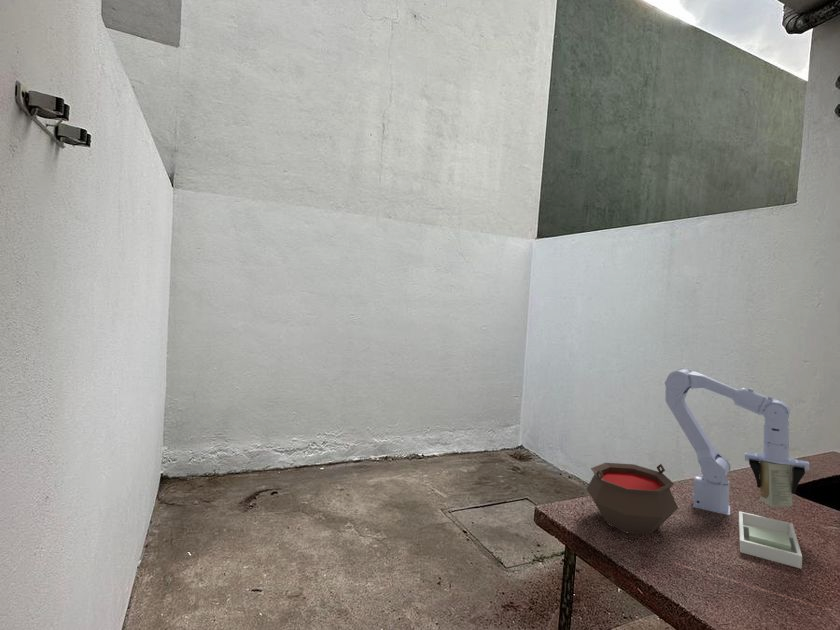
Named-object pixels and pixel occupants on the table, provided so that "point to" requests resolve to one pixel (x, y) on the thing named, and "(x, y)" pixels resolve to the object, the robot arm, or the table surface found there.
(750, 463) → the robot arm
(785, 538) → the pale green block
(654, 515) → the brown cauldron
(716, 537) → the table surface
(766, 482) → the skincare box
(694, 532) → the table surface
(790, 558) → the white rectangular tray
